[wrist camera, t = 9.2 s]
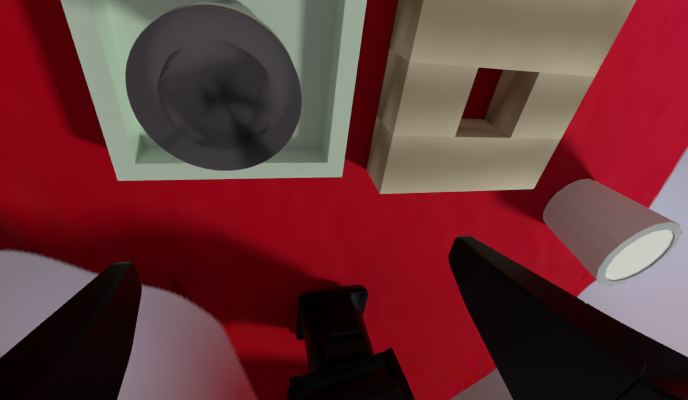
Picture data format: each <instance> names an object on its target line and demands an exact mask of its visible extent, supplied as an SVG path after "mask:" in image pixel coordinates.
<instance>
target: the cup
mask: <svg viewBox="0 0 688 400" xmlns="http://www.w3.org/2000/svg"><path fill="white" fill-rule="evenodd" d="M543 221H544V222H545V223H546V225H547V226H548V227H549V228H550V229H551V230H552V231H553V232H554V234H555V235H556V236H557V237H558V238H559V239H560V240H561V241H562V242H563V243H564V245H565V246H566V247H567V248H568V249H569V250H570V251H571V252H572V253H573V254H574V256H575V257H576V258H577V259H578V260H579V261H580V262H581V263H582V264H583V265H584V267H585V268H586V269H587V270H588V271H589V272H590V273H591V274H592V275H593V276H594V278H595V279H596V280H597V281H598V282H599V283H600V284H603V285H614V284H619V283H623V282H625V281H627V280H630V279H632V278H634V277H637V276H639V275H640V274H642V273H643V272H645V271H647V270H648V269H650V268H652V267H653V266H654V265H655V264H657V263H658V262H659V261H660V260H661V259H663V258H664V257H665V256H666V255H667V254H668V253H669V252H670V251H671V249H672V248H673V247H674V246H675V245H676V244H677V242H678V239H679V237H680V235H681V233H682V232H681V228H680V225H679V224H677V223H676V222H674V221H672V220H670V219H668V218H666V217H664V216H662V215H660V214H658V213H656V212H654V211H652V210H650V209H648V208H647V207H645V206H643V205H641V204H639V203H637V202H635V201H633V200H631V199H629V198H627V197H625V196H623V195H621V194H619V193H618V192H616V191H614V190H612V189H610V188H608V187H606V186H604V185H602V184H600V183H598V182H596V181H594V180H591V179H582V180H577V181H575V182H573V183H571V184H569V185H567V186H565V187H564V188H563V189H561V190H560V191H559V192H557V193H556V194H555V195H554V196H553V197H552V199H551V200H550V201H549V202H548V203H547V205H546V208H545V210H544V212H543Z"/></svg>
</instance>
